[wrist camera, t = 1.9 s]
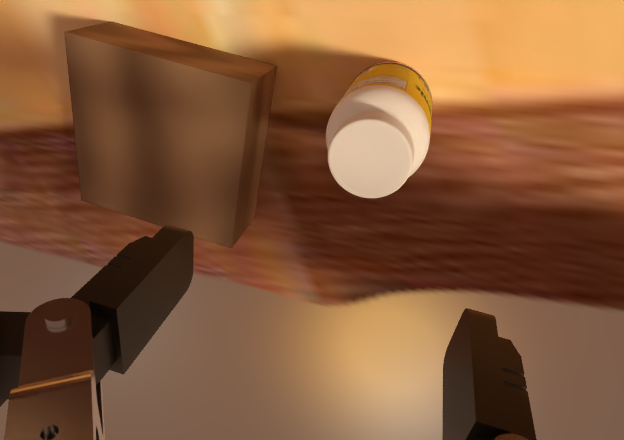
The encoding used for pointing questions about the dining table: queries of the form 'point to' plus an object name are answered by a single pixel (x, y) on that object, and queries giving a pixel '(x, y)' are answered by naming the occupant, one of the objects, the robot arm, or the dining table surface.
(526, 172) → the dining table surface
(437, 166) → the dining table surface
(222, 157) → the walnut plinth block
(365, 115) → the supplement bottle
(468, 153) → the dining table surface
